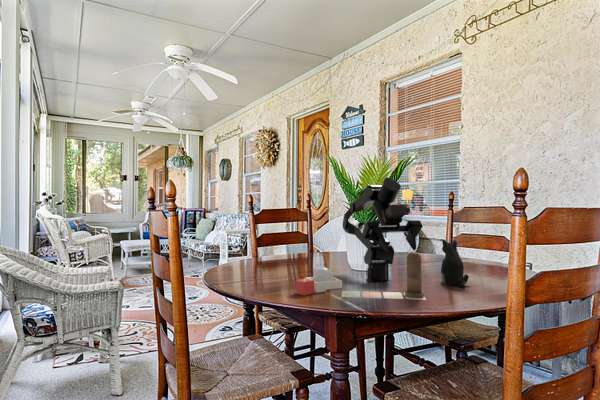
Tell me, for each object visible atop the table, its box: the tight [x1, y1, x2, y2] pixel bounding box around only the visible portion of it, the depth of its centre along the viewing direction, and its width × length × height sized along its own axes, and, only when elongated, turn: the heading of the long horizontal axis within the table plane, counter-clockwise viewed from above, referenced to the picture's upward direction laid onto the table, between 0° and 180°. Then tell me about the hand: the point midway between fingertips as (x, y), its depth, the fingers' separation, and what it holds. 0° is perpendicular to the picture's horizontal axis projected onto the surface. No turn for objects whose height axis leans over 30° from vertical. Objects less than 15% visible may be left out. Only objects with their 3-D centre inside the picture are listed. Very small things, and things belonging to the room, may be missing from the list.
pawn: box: [404, 251, 425, 298], centre depth 109 cm, size 5×5×13 cm
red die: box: [294, 277, 315, 297], centre depth 116 cm, size 4×4×4 cm
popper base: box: [305, 276, 343, 294], centre depth 123 cm, size 9×9×3 cm
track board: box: [339, 290, 427, 301], centre depth 110 cm, size 24×10×1 cm, turn 81°
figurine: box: [438, 239, 470, 288], centre depth 126 cm, size 10×10×15 cm
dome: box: [313, 266, 334, 282], centre depth 123 cm, size 6×6×6 cm
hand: (401, 250), depth 116 cm, fingers open, 9 cm apart
